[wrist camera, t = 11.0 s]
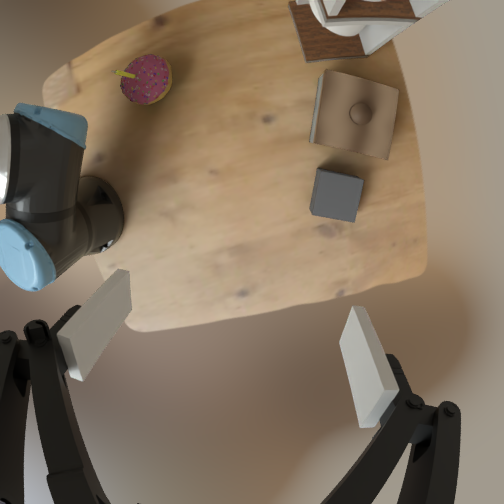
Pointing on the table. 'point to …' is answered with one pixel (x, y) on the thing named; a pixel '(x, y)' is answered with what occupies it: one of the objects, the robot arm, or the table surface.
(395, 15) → the white stacked pedestal
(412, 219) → the table surface
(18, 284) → the robot arm
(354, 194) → the block
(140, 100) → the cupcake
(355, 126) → the lid
